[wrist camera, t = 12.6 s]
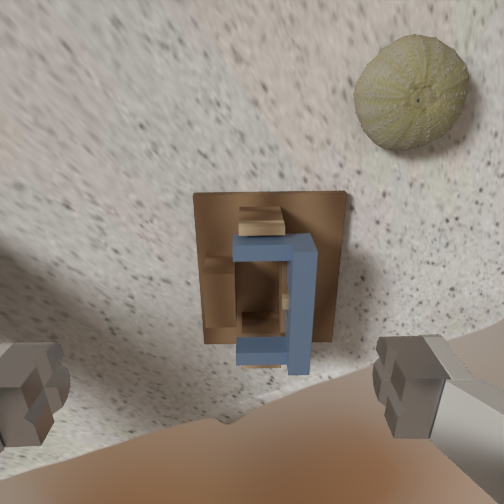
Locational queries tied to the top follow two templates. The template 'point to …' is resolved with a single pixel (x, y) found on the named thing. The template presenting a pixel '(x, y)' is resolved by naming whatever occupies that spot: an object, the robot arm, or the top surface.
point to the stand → (264, 272)
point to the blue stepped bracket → (299, 306)
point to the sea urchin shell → (411, 92)
